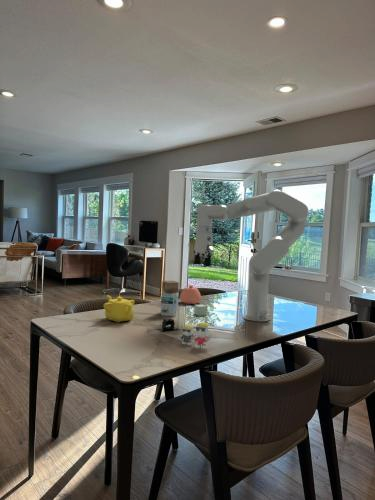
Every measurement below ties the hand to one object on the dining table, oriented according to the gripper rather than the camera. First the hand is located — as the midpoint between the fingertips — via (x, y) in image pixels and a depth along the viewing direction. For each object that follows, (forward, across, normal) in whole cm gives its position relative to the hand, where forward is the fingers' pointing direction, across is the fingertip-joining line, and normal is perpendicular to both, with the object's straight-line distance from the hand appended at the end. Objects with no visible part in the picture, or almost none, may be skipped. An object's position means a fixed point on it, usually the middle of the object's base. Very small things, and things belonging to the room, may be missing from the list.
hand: (202, 265), depth 175 cm
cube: (+24, 0, 0) cm, 24 cm away
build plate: (+25, -20, +26) cm, 41 cm away
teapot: (+25, +2, +40) cm, 48 cm away
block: (+14, +6, +14) cm, 20 cm away
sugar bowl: (+25, +27, -10) cm, 37 cm away
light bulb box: (+25, +6, +14) cm, 29 cm away
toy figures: (+24, -42, +25) cm, 55 cm away
